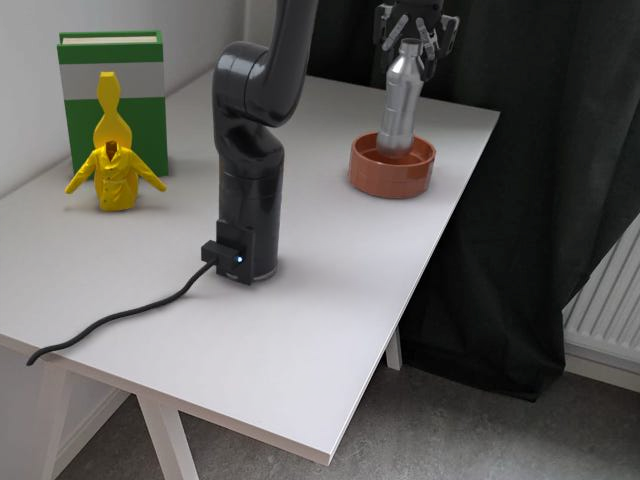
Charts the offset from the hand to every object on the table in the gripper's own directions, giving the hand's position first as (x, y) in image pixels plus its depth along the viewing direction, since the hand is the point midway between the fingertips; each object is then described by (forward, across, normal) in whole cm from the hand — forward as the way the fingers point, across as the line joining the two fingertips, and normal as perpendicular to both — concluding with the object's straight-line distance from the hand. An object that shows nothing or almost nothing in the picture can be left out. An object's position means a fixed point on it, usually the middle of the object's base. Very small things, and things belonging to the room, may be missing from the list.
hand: (406, 76), depth 123 cm
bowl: (+20, 0, 0) cm, 20 cm away
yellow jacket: (+20, -37, -35) cm, 55 cm away
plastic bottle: (+14, 0, 0) cm, 14 cm away
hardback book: (+20, -45, -24) cm, 55 cm away
